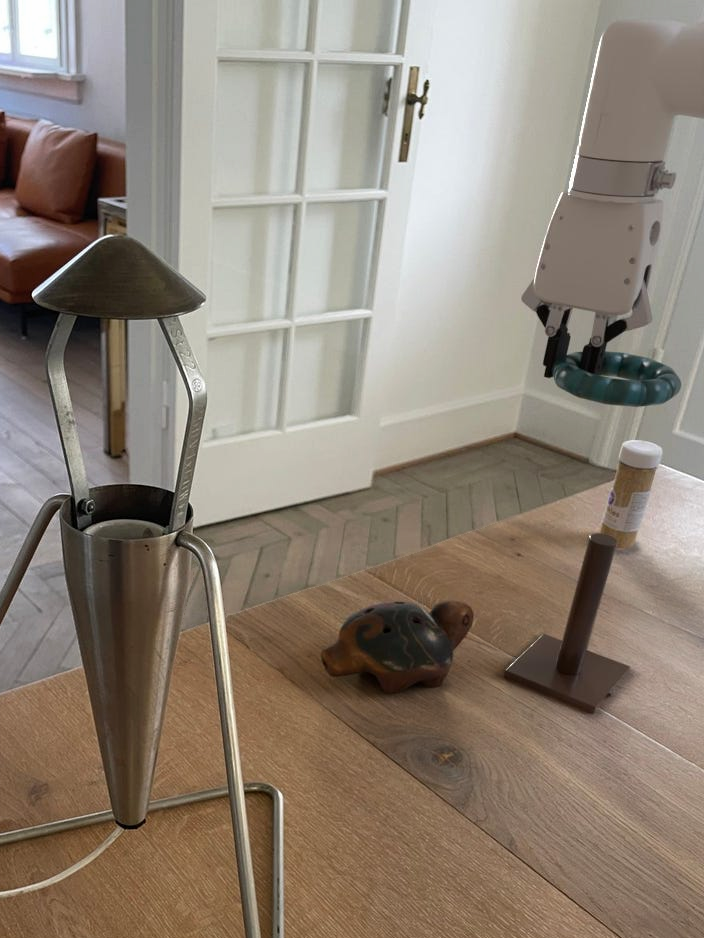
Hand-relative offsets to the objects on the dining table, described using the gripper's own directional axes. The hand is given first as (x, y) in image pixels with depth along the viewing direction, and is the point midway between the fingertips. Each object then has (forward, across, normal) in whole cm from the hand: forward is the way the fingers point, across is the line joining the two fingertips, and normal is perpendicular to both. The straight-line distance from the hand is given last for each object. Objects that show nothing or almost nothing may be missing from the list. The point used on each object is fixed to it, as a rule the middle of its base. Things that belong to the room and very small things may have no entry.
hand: (568, 377), depth 98 cm
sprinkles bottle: (+24, -4, -17) cm, 30 cm away
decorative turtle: (+24, +1, +26) cm, 36 cm away
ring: (-1, -4, 0) cm, 5 cm away
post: (+24, -12, +15) cm, 31 cm away
